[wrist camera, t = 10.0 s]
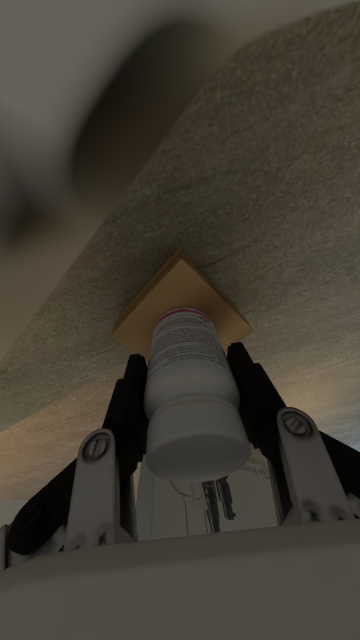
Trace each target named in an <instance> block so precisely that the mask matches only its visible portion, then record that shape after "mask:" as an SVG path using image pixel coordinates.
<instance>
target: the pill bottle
mask: <svg viewBox="0 0 360 640" xmlns="http://www.w3.org/2000/svg"><path fill="white" fill-rule="evenodd" d="M240 400H241V399H240V391H239V388H238V385H237V382H236V380H235V377H234V375H233V372H232V370H231V367H230V365H229V362H228V360H227V357H226V355H225V353H224V350H223V348H222V345H221V343H220V340H219V338H218V335H217V333H216V330H215V327H214V325H213V323H212V321H211V320H210V319H209V317H208V316H207V315H205V314H204V313H202V312H201V311H199V310H196V309H193V308H178V309H174V310H171V311H169V312H167V313H165V314H164V315H163V316H161V317H160V318H159V319H158V321H157V322H156V324H155V326H154V329H153V333H152V341H151V349H150V356H149V363H148V369H147V377H146V384H145V390H144V400H143V406H144V411H145V414H146V416H147V418H148V420H149V426H148V430H147V449H146V464H147V467H148V469H149V470H150V472H152V473H153V474H154V475H156V476H158V477H160V478H162V479H165V480H169V481H173V482H181V483H196V482H206V481H211V480H215V479H219V478H222V477H225V476H228V475H230V474H232V473H234V472H236V471H238V470H239V469H241V468H242V467H243V466H244V465H245V464H246V463H247V462H248V460H249V459H250V456H251V447H250V444H249V441H248V438H247V435H246V432H245V429H244V426H243V423H242V421H241V418H240V414H239V412H238V409H239V406H240Z"/></svg>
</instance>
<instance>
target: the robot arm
mask: <svg viewBox="0 0 360 640" xmlns="http://www.w3.org/2000/svg"><path fill="white" fill-rule="evenodd" d="M227 360H228V362H229V365H230V367H231V370H232V372H233V375H234V377H235V380H236V382H237V385H238V388H239V391H240V399H241V400H240V406H239V409H238V412H239V414H240V418H241V421H242V423H243V426H244V429H245V432H246V435H247V438H248V441H249V443H250V442H252V444H253V447H254V449H260V451H261V454H262V455H263V456H264V457H266V458H267V464H268V470H269V476H270V482H271V488H272V494H273V500H274V506H275V512H276V518H277V524H278V526H274V527H265V528H255V529H246V530H237V531H228V532H219V533H209V534H200V535H191V536H182V537H173V538H164V539H156V540H147V541H138V532H137V520H136V507H135V495H134V482H133V473H134V471H135V470H136V469H137V464H138V462H143V455H144V454H146V449H147V430H148V426H149V420H148V418H147V416H146V414H145V411H144V406H143V400H144V390H145V384H146V377H147V369H148V368H147V365H146V361H145V357H144V356H141V354H132V355H130V356H129V360H128V364H127V367H126V371H125V374H124V378H123V379H118V380H117V382H116V385H115V388H114V391H113V394H112V398H111V401H110V404H109V407H108V410H107V413H106V417H105V420H104V423H103V426H102V428H101V429H97V430H95V431H93V432H92V433H91V434H89V435H88V436H87V437H86V438H85V439H84V441H83V442H82V444H81V446H80V448H79V451H78V456H77V458H76V459H75V460H74V461H73V462H71V463H70V464H69V465H68V466H67V467H66V468H65V469H64V470H63V471H61V472H60V473H59V474H58V475H57V476H56V477H55V478H54V479H52V480H51V481H50V482H49V483H48V484H47V485H46V486H45V487H43V488H42V489H41V490H40V491H39V492H38V493H37V494H36V495H34V496H33V497H32V498H31V499H30V500H29V501H28V502H27V503H26V504H25V505H24V506H23V507H22V508H21V510H20V511H19V513H18V514H17V515H16V517H15V519H14V521H13V522H12V523H10V524H9V525H6V524H5V525H4V526H2V527H1V528H0V640H360V452H358V451H357V450H355V449H353V448H351V447H349V446H347V445H345V444H343V443H342V442H340V441H338V440H336V439H334V438H332V437H330V436H329V435H327V434H325V433H323V432H321V431H319V430H318V428H317V426H316V424H315V423H314V421H313V420H312V419H311V417H310V416H309V415H307V414H306V413H305V412H303V411H301V410H299V409H297V408H293V407H286V405H285V403H284V402H283V400H282V398H281V397H280V395H279V394H278V392H277V390H276V389H275V387H274V385H273V384H272V382H271V381H270V379H269V377H268V376H267V374H266V372H265V371H264V369H263V368H262V366H261V365H260V364H259V363H253V361H252V359H251V358H250V356H249V354H248V352H247V351H246V349H245V347H244V346H243V344H242V342H235V343H231V346H228V351H227Z"/></svg>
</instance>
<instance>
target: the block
mask: <svg viewBox="0 0 360 640" xmlns="http://www.w3.org/2000/svg"><path fill="white" fill-rule="evenodd" d="M178 308H193V309H196V310H199V311H201V312H202V313H204V314H205V315H207V316H208V317H209V319H210V320H211V321H212V323H213V325H214V327H215V330H216V333H217V335H218V338H219V340H220V343H221V345H222V348H223V350H224V352H225V351H227V350H228V346H231V343H235V342H239V341H240V340H241V339H243V338H244V337H245V336H247V335H248V334H249V333H251V332H252V331H253V329H252V327H251V326H250V325H249V323H248V322H247V321H246V319H245V318H244V317H243V315H242V314H241V312H240V311H239V310H238V308H237V307H236V306H235V305H234V304H233V303H232V302H231V301H230V300H229V299H228V298H227V297H226V296H225V295H224V294H223V293H222V292H221V291H220V290H219V288H218V287H217V286H216V285H215V284H214V283H213V282H212V281H211V280H210V279H209V278H208V277H207V276H206V275H205V274H204V273H203V272H202V271H201V270H200V269H199V268H198V267H197V266H196V265H195V264H194V263H193V262H192V261H191V260H190V259H189V258H188V257H187V256H186V255H185V254H184V253H183V252H182V251H181V250H180V249H179V248H178V249H177V250H176V251H175V252H174V253H173V254H172V255H171V256H170V258H169V259H168V260H167V261H166V262H165V263H164V264H163V265H162V267H161V268H160V269H159V270H158V271H157V272H156V273H155V274H154V276H153V277H152V278H151V279H150V280H149V281H148V282H147V283H146V285H145V286H144V287H143V288H142V289H141V290H140V291H139V292H138V293H137V295H136V296H135V297H134V298H133V299H132V300H131V301H130V302H129V304H128V305H127V306H126V307H125V308H124V309H123V310H122V312H121V314H120V316H119V318H118V320H117V322H116V324H115V326H114V329H113V331H112V333H111V335H110V338H112V339H114V340H115V341H117V342H118V343H120V344H122V345H123V346H125V347H126V348H128V349H130V350H131V351H133V352H134V353H136V354H141V356H144V357H145V360H147V361H149V356H150V349H151V341H152V333H153V329H154V326H155V324H156V322H157V321H158V319H159V318H160V317H161V316H163V315H164V314H165V313H167V312H169V311H171V310H174V309H178Z"/></svg>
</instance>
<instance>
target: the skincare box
mask: <svg viewBox="0 0 360 640" xmlns="http://www.w3.org/2000/svg"><path fill="white" fill-rule="evenodd" d="M249 444H250V447H251V456H250V459H249V460H248V462H247V463H246V464H245V465H244V466H243V467H242V468H241V469H239V470H238V471H236V472H234V473H232V474H230V475H228V476H225V477H222V478H219V479H215V480H211V481H206V482H196V483H181V482H173V481H169V480H165V479H162V478H160V477H158V476H156V475H154V474H153V473H152V472H150V470H149V469H148V467H147V464H146V454H144V455H143V462H141V469H140V479H139V485H138V493H137V502H136V520H137V532H138V541H147V540H156V539H164V538H173V537H182V536H191V535H200V534H209V533H219V532H228V531H237V530H246V529H255V528H265V527H274V526H278V524H277V518H276V512H275V506H274V500H273V494H272V488H271V482H270V476H269V470H268V464H267V459H266V457H264V456H263V455H262V454H261V451H260V449H254V447H253V444H251V443H249Z"/></svg>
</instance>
